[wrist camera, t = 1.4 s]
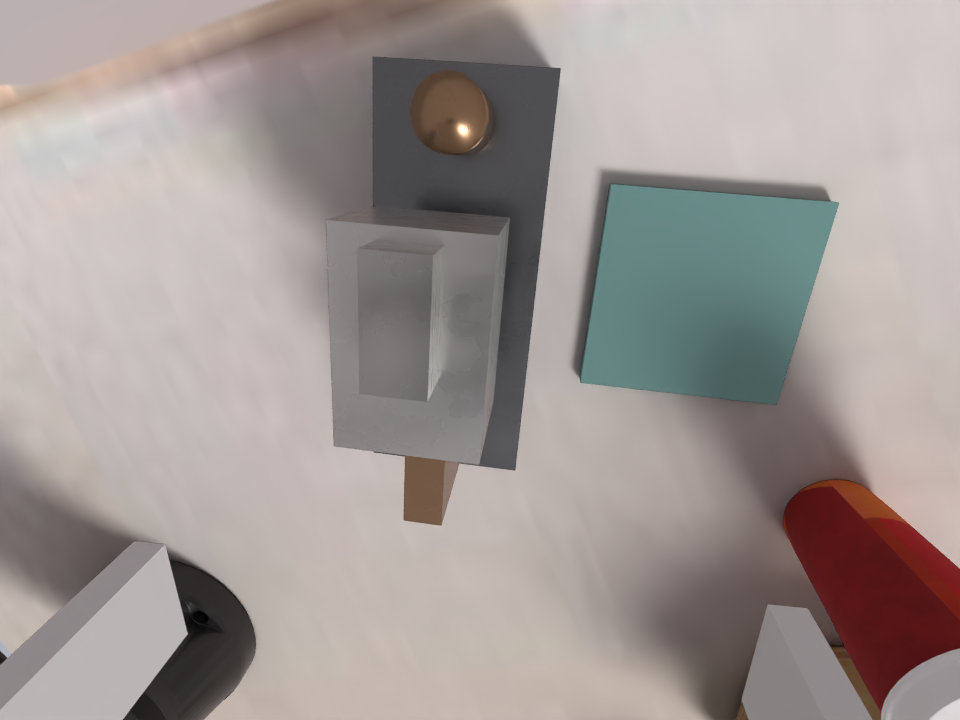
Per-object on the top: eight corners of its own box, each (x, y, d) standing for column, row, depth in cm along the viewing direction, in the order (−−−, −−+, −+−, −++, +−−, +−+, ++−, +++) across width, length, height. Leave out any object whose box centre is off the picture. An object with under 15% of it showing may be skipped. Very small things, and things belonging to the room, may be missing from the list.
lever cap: (377, 386, 27) (313, 473, 19) (378, 205, 24) (300, 226, 16) (493, 400, 26) (472, 494, 19) (510, 217, 23) (492, 244, 16)
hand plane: (391, 422, 37) (338, 511, 28) (395, 69, 29) (322, 26, 20) (518, 438, 36) (508, 535, 27) (558, 80, 28) (564, 41, 19)
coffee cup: (771, 572, 37) (904, 815, 24) (757, 476, 35) (897, 685, 21) (902, 555, 36) (1129, 806, 22) (897, 452, 33) (1151, 663, 19)
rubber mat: (579, 378, 34) (580, 382, 33) (609, 183, 30) (611, 184, 29) (771, 399, 33) (776, 404, 32) (831, 201, 29) (839, 202, 28)
